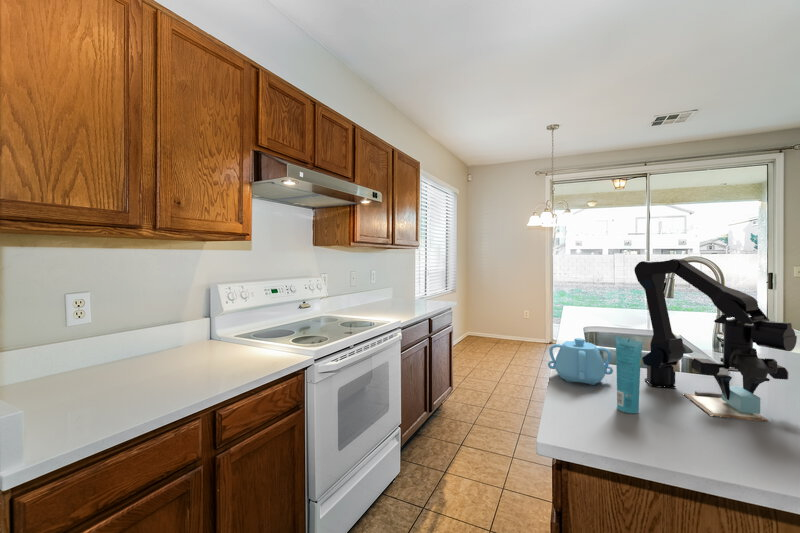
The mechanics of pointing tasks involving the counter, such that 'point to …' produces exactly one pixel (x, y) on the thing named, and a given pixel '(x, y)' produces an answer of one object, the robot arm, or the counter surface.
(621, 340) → the tube
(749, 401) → the light blue block
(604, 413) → the counter surface
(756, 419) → the clipboard
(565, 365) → the decorative pot
